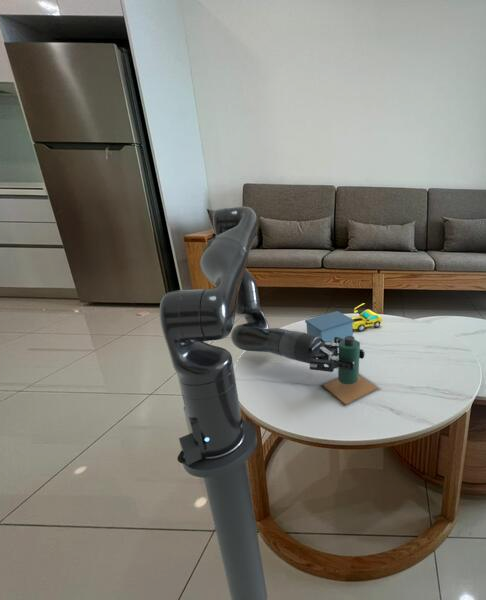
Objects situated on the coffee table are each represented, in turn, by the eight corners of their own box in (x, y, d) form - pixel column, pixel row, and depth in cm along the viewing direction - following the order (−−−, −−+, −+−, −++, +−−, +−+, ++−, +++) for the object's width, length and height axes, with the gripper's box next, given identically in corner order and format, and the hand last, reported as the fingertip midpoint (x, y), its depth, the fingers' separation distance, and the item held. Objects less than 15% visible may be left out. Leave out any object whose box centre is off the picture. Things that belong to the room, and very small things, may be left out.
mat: (345, 405, 77) (345, 403, 77) (323, 385, 84) (323, 384, 84) (377, 389, 83) (377, 387, 83) (354, 372, 90) (354, 371, 90)
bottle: (351, 386, 80) (352, 344, 76) (334, 380, 82) (334, 338, 78) (362, 377, 84) (364, 336, 80) (345, 371, 86) (347, 331, 82)
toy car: (373, 319, 125) (373, 299, 122) (383, 327, 119) (383, 306, 116) (344, 325, 119) (344, 304, 116) (353, 333, 113) (353, 312, 110)
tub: (321, 352, 100) (320, 330, 97) (306, 341, 107) (304, 319, 104) (354, 340, 108) (353, 319, 105) (337, 331, 115) (337, 310, 112)
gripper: (283, 346, 78) (346, 361, 72) (314, 323, 90) (370, 334, 85) (285, 372, 80) (346, 389, 75) (316, 346, 93) (370, 359, 88)
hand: (358, 360), depth 80 cm, fingers closed on bottle, 5 cm apart
